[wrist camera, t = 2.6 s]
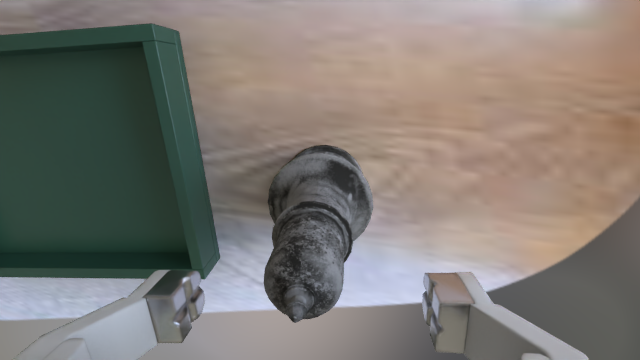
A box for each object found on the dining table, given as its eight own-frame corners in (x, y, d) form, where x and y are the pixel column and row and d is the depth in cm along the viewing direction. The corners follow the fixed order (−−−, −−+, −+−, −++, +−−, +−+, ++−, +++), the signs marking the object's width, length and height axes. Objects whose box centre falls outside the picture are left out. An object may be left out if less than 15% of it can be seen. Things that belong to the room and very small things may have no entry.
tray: (-104, 52, 20) (-168, 48, 17) (179, 31, 18) (152, 23, 15) (-9, 256, 24) (-48, 276, 22) (220, 257, 23) (205, 279, 20)
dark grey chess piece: (281, 220, 21) (205, 384, 10) (280, 138, 19) (184, 223, 8) (365, 225, 21) (386, 403, 9) (372, 142, 19) (410, 239, 7)
